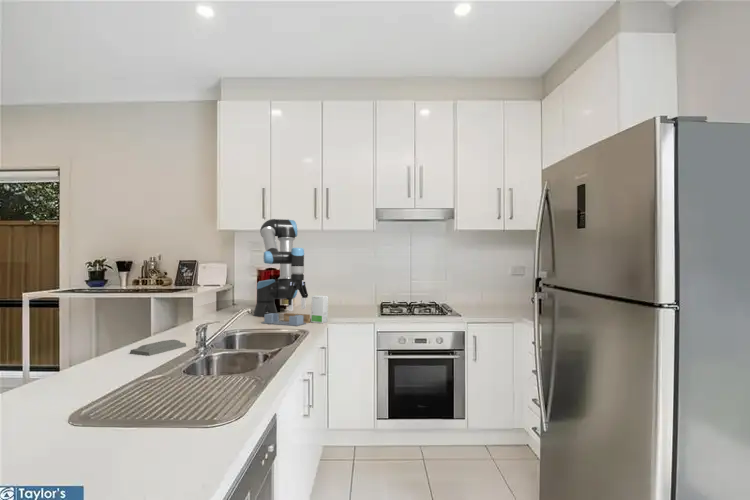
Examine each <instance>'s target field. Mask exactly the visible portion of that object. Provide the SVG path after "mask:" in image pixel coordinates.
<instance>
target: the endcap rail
mask: <svg viewBox="0 0 750 500" xmlns="http://www.w3.org/2000/svg"><path fill="white" fill-rule="evenodd" d="M279 315H280V313H278V312H277V313H270V314H264V316H263V317H264V319H263V320H264V321H262V322H261V324H263V325H274V326H275V325H276V326H287V327H288V326H289V327H290V326H291V327H300V326H304V325H307V323H303V315H295V316H289V322H287V321H284V320H279V318H280V316H279Z"/></svg>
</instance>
